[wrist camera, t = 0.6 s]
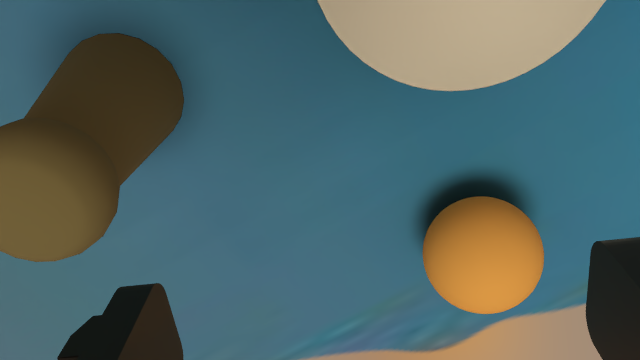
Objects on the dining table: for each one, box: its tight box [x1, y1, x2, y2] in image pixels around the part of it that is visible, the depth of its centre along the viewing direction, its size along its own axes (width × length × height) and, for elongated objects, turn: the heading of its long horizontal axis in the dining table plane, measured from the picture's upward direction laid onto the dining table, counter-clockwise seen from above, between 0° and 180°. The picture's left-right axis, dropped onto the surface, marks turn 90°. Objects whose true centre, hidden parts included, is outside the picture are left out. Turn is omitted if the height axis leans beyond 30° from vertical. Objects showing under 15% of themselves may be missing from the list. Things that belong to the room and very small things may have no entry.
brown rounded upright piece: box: [0, 33, 184, 262], centre depth 23 cm, size 6×6×11 cm
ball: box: [423, 196, 544, 314], centre depth 29 cm, size 6×6×6 cm
